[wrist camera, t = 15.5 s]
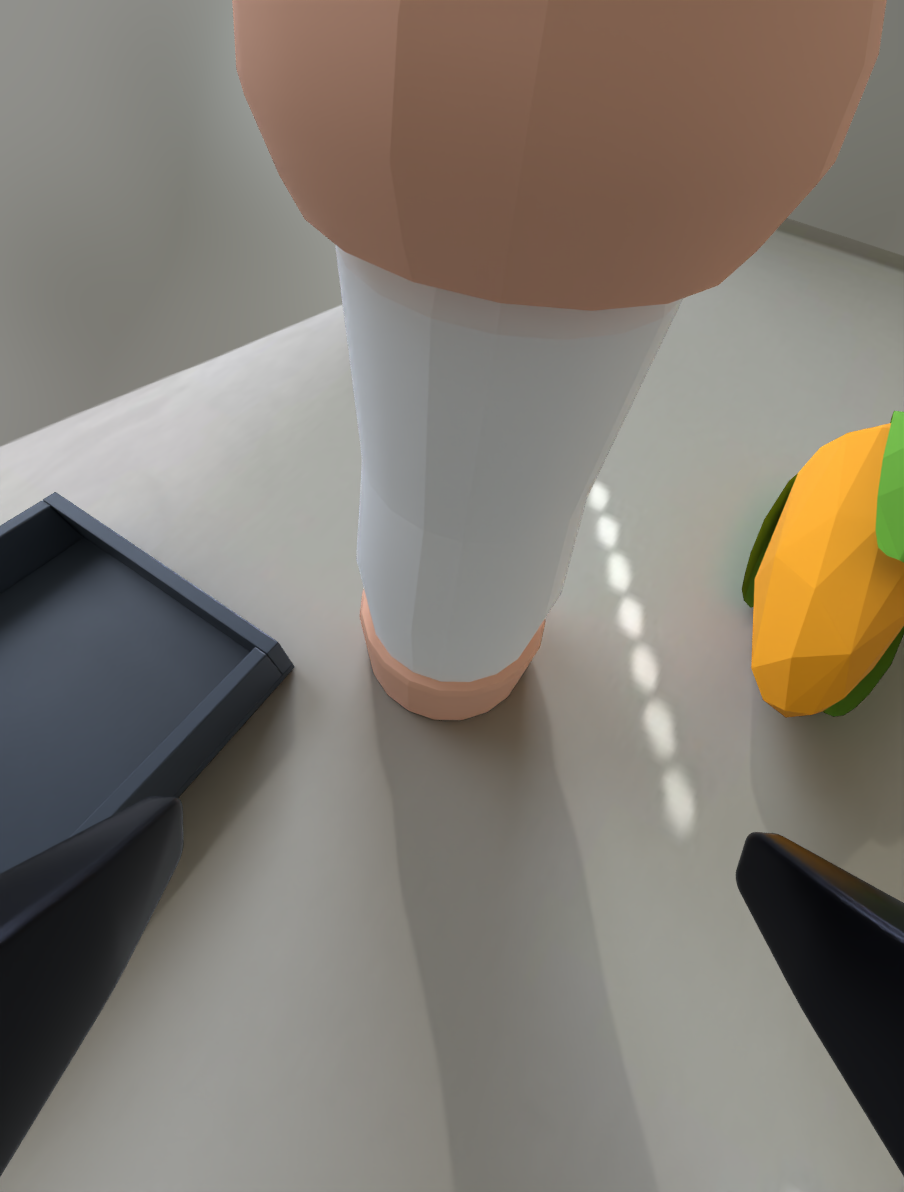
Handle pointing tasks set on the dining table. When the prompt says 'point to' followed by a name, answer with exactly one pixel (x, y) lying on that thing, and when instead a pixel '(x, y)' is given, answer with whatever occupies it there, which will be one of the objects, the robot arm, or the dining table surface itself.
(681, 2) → the pepper shaker
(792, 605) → the corn
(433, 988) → the dining table surface
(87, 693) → the tray
